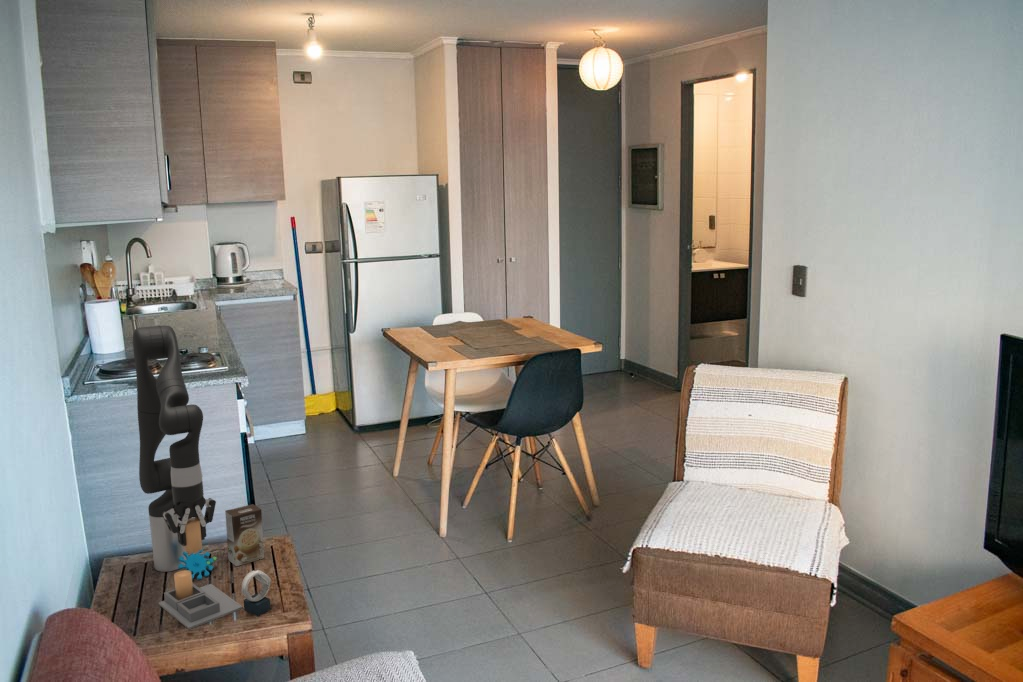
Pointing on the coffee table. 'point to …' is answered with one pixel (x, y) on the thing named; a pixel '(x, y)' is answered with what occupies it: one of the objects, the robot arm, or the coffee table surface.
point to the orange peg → (193, 536)
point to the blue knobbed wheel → (197, 563)
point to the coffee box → (244, 534)
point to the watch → (256, 602)
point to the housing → (196, 602)
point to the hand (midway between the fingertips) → (192, 541)
